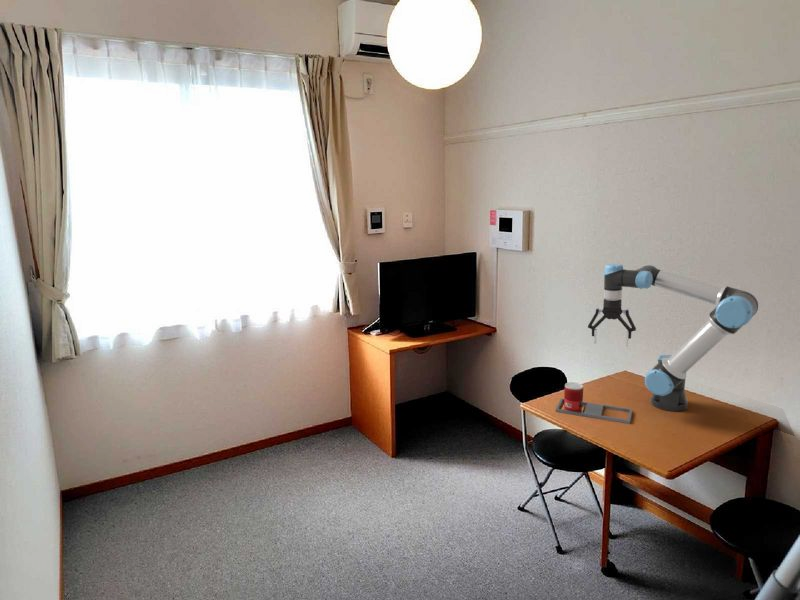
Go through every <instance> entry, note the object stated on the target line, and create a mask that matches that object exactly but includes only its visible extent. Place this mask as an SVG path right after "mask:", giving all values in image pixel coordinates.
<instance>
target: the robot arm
mask: <svg viewBox="0 0 800 600" xmlns="http://www.w3.org/2000/svg"><path fill="white" fill-rule="evenodd" d="M603 275H604V277H603V278H604V279H603V307H602V308H599V307H597V308H596V309H595V313H594V315H593V316H592V318H591V320H590V322H589V323H588V326H587V328H588V329H591V337H593V345H596V344H597V327H599V326H600V325H601V323H603V321H605V320H606V319H607V320H618V321H619V323H621V324H622V326H623V327H624V328H625V329H626V336H625V337H626V341H625V346H626V347H628V346H629V339H630V340H631V338H632V332H636V331H637V328H636V326H635V323H634V321H633V320H632V317H631V315H630V311H629V309H628V308H627V309H622V298H623V288H633V289H641V290H642V289H650V288H651V287H657V288H661V289H663V290H667V291H670V292H673V293H676V294H680V295H684V296H686V297H689V298H693V299H695V300H699V301H702V302H706V303H709V304H712V305H715V306H716V307H715V308H713V309H712V311H710V313H709V314H708V320H707V321H706V322H705V323H704V324H703V325H702V326H700V328H698V330H697V331H695V333H694V334H692V335H691V336H690V337H689V338H688V339H687V340H686V341H685V342H684V343H683V344H682V345H681V346H680V347H679V348H678V349H677V350H676V351H674V353H673V354H660V355H659V356H658V357H657V364H656V365H655V366H654V367H652V369H650V370H648V371H647V372H646V374H645V376H644V384H645V386H646V388H647V390H648V391H649V392H650V393H652V394H651V396H650V404H651V405H652V406H654V407H655V408H657V409H660V410H665V411H668V412H669V411H670V412H682V411H685V410H687V408H688V399H687V395H686V392H685V387H686V378H687V372H688V371H689V370H690V369H691V368H693V367H694V366H695V365H696V364H697V363H698V362H699V361H701V359H703V357H705V356H706V355H707V354H708V353H709V352H710V351H711V350H712V349H713V348H715V347H716V345H718V344H719V343H720V342H721V341H722V340H723V339H724V338H725V337H726V336H727V335H734V334H735V335H736V333H737V332H738V331H740V329H742V327H744V326H746V325H747V324H748V323H749V322H750V321H751V320H752V318H753V317H754V316H755V315H756V314H757V312H758V311H759V301H758V300H757V298H756V296H755V295H753V294H752V293H751V292H749V291H746V290H743V289H740V288H734V287H732V286H727V285H725V286H718V285H715V284H712V283H708V282H705V281H704V282H703V281H700V280H696V279H693V278H690V277H687V276H684V275H679V274H676V273H673V272H670V271H666V270H661V269H659V268H657V267H656V266H654V265H652V264H649V265H644V266H642V267H639V268H637V269H624V266H623V265H622V264H619V263H610V264H606V265H605V267H604V274H603ZM601 313H602V314H603V316H602V317H600V319H599V320H597V321H596V322H595V320H596V319H597V317H598V315H600V314H601ZM622 314H623V315H624V316H625V317H626V319H627V321H628V322H627V321H625V320H624V319H623V317H622V316H621V315H622ZM628 323H629V324H628ZM629 325H630V326H629Z"/></svg>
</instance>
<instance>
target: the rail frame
mask: <svg viewBox="0 0 800 600" xmlns="http://www.w3.org/2000/svg"><path fill="white" fill-rule="evenodd" d="M563 403H564V398H560V400H559V402H558V404H557V405H556V408H555V413H562V414H567V415H573V416H574V415H575V416H579V415H580V416H581V417H585V418H586V417H588V418H593V419H599V420H604V421H610V422H611V421H612V422H617V423H623V424H629V425H630V424H631V420H632V414H633V408H627V407H622V406H621V407H620V406H612V405H606V404H601V403H600V404H599V403H593V402H586V401H583V403H582V409H581V410H580V411H570V410H567V409H565V407H564V404H563ZM562 404H563V405H562ZM561 406H562V407H561ZM604 409H607V410H613V411H620V412H627V413H628V417H627V419H625V418H619V417H613V416H606V415H602V414H603V411H604ZM583 411H584V412H583Z"/></svg>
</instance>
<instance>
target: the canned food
mask: <svg viewBox="0 0 800 600" xmlns="http://www.w3.org/2000/svg"><path fill="white" fill-rule="evenodd" d="M563 399H564V402H563V405H564V407H565V409H567V410H570V411H580V410H581V409H582V403H583V402H584V401H583V399H584V385H583V384H581V383H579V382H566V383H565V384H564V395H563Z"/></svg>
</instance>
